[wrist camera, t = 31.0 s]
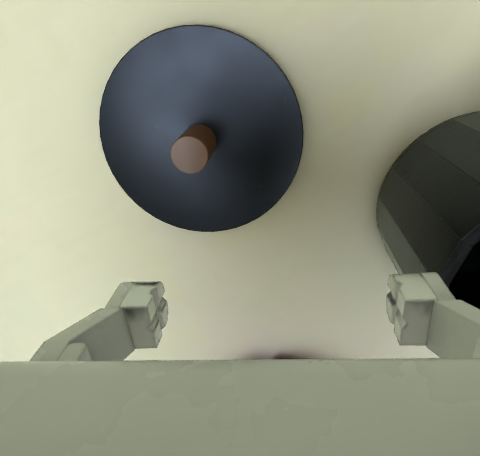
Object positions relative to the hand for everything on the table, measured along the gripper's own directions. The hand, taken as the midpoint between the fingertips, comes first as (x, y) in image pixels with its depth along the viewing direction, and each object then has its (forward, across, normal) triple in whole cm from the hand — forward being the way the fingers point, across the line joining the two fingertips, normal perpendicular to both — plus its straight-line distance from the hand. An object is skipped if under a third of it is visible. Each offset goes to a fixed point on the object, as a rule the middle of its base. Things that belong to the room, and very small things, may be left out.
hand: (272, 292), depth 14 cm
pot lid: (+18, +6, -2) cm, 19 cm away
